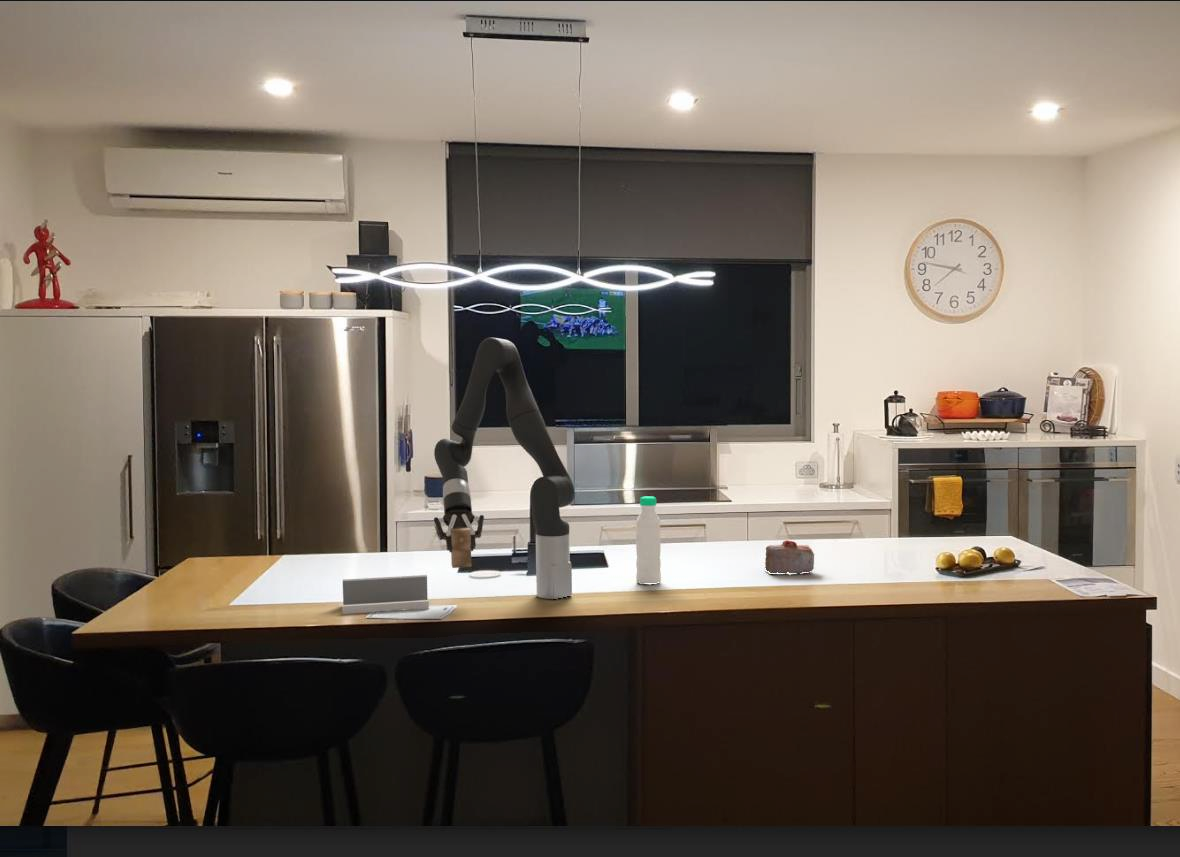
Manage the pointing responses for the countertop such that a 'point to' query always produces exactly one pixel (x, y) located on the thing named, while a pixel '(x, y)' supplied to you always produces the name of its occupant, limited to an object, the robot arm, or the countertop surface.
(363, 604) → the grey display ledge
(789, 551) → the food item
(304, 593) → the countertop surface
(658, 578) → the water bottle
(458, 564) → the walnut cabinet block
